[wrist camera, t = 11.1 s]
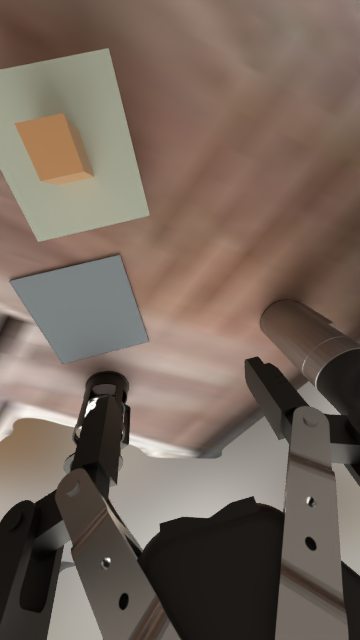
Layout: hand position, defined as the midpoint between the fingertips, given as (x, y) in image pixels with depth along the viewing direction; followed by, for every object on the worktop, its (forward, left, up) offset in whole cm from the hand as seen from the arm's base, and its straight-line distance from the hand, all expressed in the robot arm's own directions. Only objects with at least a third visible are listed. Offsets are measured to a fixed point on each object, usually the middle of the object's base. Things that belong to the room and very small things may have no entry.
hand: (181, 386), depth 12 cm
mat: (+14, +6, -28) cm, 32 cm away
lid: (+6, -15, -22) cm, 27 cm away
